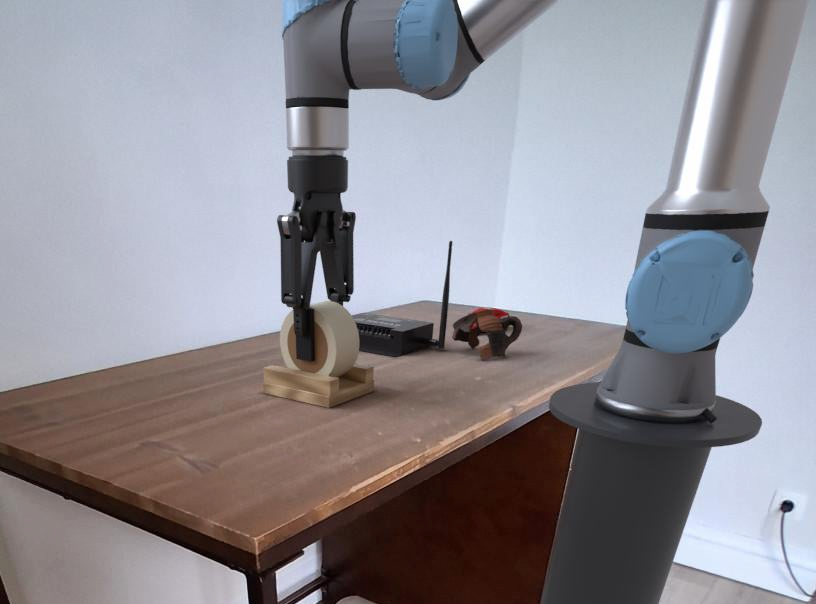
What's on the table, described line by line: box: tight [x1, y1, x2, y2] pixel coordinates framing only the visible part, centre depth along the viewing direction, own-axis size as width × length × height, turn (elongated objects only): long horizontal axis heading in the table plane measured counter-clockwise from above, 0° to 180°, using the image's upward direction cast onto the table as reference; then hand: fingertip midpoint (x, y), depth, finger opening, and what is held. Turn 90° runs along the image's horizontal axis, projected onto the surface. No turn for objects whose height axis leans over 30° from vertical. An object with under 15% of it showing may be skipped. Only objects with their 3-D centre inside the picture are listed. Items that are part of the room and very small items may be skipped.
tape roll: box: [279, 300, 360, 377], centre depth 94 cm, size 10×6×10 cm, turn 53°
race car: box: [467, 307, 510, 336], centre depth 135 cm, size 13×5×4 cm, turn 129°
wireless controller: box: [351, 240, 453, 358], centre depth 119 cm, size 20×14×17 cm
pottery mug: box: [452, 309, 523, 361], centre depth 118 cm, size 12×10×8 cm
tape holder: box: [262, 362, 375, 409], centre depth 97 cm, size 12×11×4 cm
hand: (319, 355), depth 95 cm, fingers closed on tape roll, 6 cm apart
